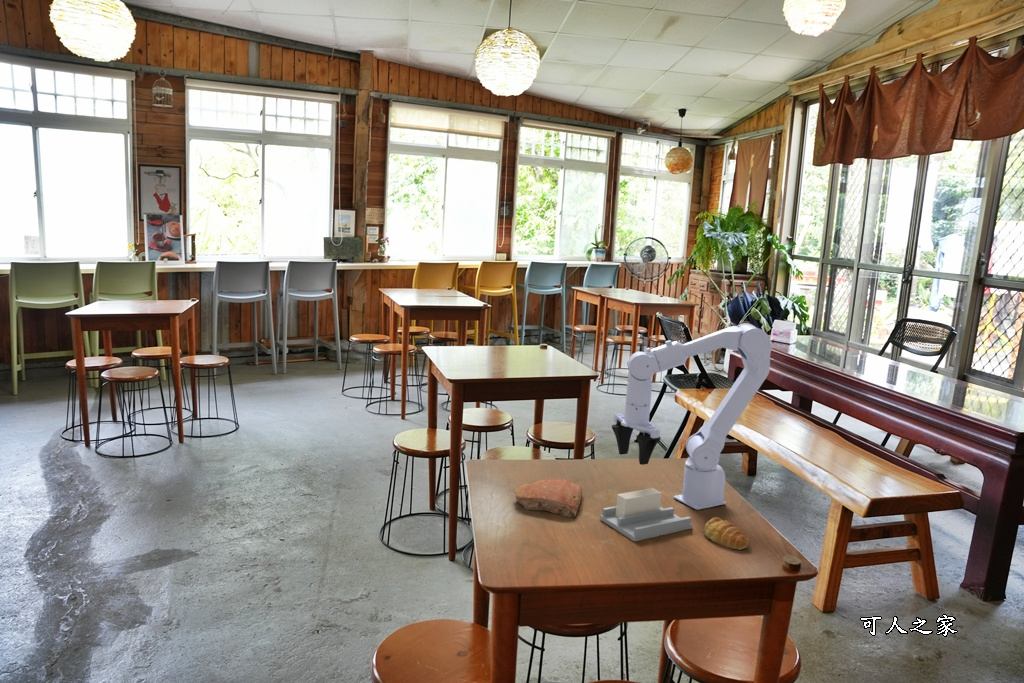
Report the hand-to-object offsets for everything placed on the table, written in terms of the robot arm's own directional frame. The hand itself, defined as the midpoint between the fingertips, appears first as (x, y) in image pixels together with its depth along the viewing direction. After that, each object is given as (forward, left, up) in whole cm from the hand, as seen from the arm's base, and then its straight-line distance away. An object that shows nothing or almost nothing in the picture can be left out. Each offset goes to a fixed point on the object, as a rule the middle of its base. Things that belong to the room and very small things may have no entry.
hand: (633, 458), depth 164 cm
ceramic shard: (+20, -5, -10) cm, 23 cm away
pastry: (-4, +27, -10) cm, 29 cm away
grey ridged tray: (+7, +14, -9) cm, 18 cm away
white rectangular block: (+7, +11, -8) cm, 16 cm away
